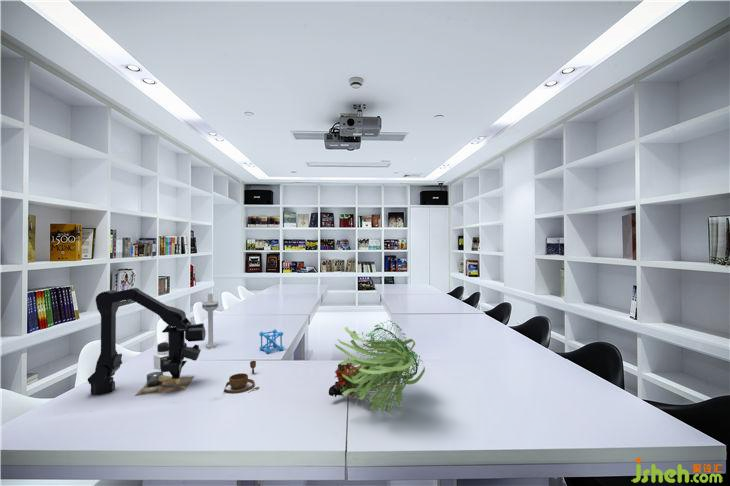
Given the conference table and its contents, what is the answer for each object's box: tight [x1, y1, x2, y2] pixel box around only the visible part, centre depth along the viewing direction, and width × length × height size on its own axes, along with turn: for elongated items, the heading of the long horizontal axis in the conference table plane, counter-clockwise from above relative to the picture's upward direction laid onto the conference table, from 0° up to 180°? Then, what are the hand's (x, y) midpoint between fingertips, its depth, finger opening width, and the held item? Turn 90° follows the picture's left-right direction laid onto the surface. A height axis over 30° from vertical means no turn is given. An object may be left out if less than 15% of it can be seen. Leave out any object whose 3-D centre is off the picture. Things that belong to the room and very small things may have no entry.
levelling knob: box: [146, 371, 181, 386], centre depth 137 cm, size 16×6×4 cm, turn 67°
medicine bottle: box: [153, 341, 171, 370], centre depth 161 cm, size 7×7×12 cm
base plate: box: [134, 375, 195, 397], centre depth 137 cm, size 17×15×3 cm
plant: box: [328, 319, 426, 418], centre depth 119 cm, size 35×35×40 cm
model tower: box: [201, 293, 219, 350], centre depth 194 cm, size 8×8×30 cm
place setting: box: [223, 360, 260, 394], centre depth 142 cm, size 18×20×6 cm
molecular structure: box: [258, 329, 284, 354], centre depth 187 cm, size 10×10×10 cm
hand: (177, 381), depth 138 cm, fingers closed
